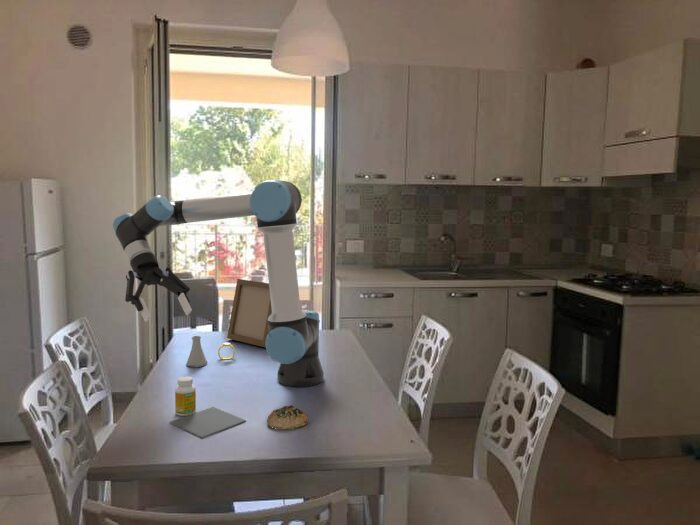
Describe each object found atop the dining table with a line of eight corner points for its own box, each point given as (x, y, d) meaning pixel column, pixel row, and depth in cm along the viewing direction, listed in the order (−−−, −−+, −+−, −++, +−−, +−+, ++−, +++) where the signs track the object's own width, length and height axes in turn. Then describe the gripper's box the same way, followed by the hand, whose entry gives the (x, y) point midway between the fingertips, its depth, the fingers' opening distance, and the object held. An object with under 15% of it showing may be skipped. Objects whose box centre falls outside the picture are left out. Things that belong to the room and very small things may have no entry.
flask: (201, 368, 195) (201, 340, 194) (182, 366, 196) (181, 338, 195) (210, 362, 202) (210, 335, 201) (192, 360, 203) (191, 333, 202)
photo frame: (265, 349, 219) (266, 286, 216) (226, 340, 231) (227, 280, 228) (290, 342, 231) (291, 282, 228) (252, 334, 243) (253, 276, 240)
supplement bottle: (184, 418, 152) (184, 383, 151) (171, 413, 155) (170, 379, 154) (199, 411, 157) (199, 377, 156) (186, 407, 160) (185, 374, 159)
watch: (234, 358, 208) (235, 342, 208) (234, 360, 206) (235, 344, 205) (217, 358, 207) (218, 342, 206) (217, 360, 204) (218, 344, 203)
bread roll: (282, 411, 159) (284, 394, 158) (315, 425, 153) (317, 408, 152) (257, 426, 149) (258, 408, 148) (290, 441, 144) (292, 423, 143)
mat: (169, 423, 149) (169, 421, 149) (213, 408, 160) (213, 406, 160) (202, 438, 140) (202, 437, 140) (245, 421, 151) (245, 420, 151)
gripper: (172, 263, 184) (199, 317, 176) (97, 269, 164) (124, 329, 157) (182, 249, 180) (210, 303, 172) (106, 253, 160) (134, 314, 153)
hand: (169, 316), depth 164 cm, fingers open, 13 cm apart
